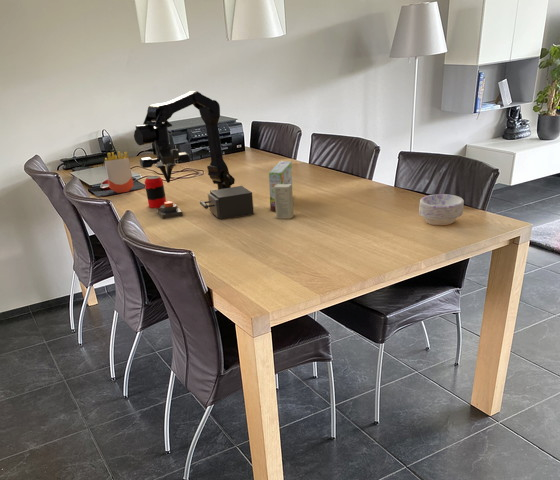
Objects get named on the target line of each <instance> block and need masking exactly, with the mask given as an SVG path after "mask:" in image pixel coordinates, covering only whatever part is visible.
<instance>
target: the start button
mask: <svg viewBox="0 0 560 480" xmlns="http://www.w3.org/2000/svg"><path fill="white" fill-rule="evenodd" d="M173 204H174V202H173V201H172V200H166V202H164V207H172V206H173Z"/></svg>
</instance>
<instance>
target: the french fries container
mask: <svg viewBox="0 0 560 480" xmlns="http://www.w3.org/2000/svg"><path fill="white" fill-rule="evenodd" d="M123 153H124V154H123ZM123 153H121V151H117V155H115V152H107V157H104V165H105V166H104V167H105V171H106V179H107V184H108V188H109V189H111V190H112V191H113V192H115V193H116V194H123V193H127V192H130V191H131V190H132V188H133V187H134V179H133V174H132V169H131V162H130V159H129V156H128V152H127V151H124V152H123Z"/></svg>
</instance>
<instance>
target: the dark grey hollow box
mask: <svg viewBox="0 0 560 480" xmlns="http://www.w3.org/2000/svg"><path fill="white" fill-rule="evenodd" d="M210 193H211V194H212V195H213V196H214V197H216V198H217V199H219V208H220V217H219V218H218V219H219V220H221V221H223V220H227V219H235V218H240V217H246V216H253V215H255V213H254V200H253V192H252V191H251V190H249V189H248V188H246V187H245V186H244V185H240V186H231V188H224V189H218V188H217V189H211V190H209V194H210Z"/></svg>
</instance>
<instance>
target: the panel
mask: <svg viewBox="0 0 560 480" xmlns="http://www.w3.org/2000/svg"><path fill="white" fill-rule="evenodd" d="M157 213H158V214H159V216H160V217H161V218H162V220H165V219H171V218H176V217H177V218H178V217H182V216H183V212H182V210H181V209H180V208H179V207H178V204H176V203H173V206H172V207H164V205H162V206H161V208H157Z"/></svg>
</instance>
